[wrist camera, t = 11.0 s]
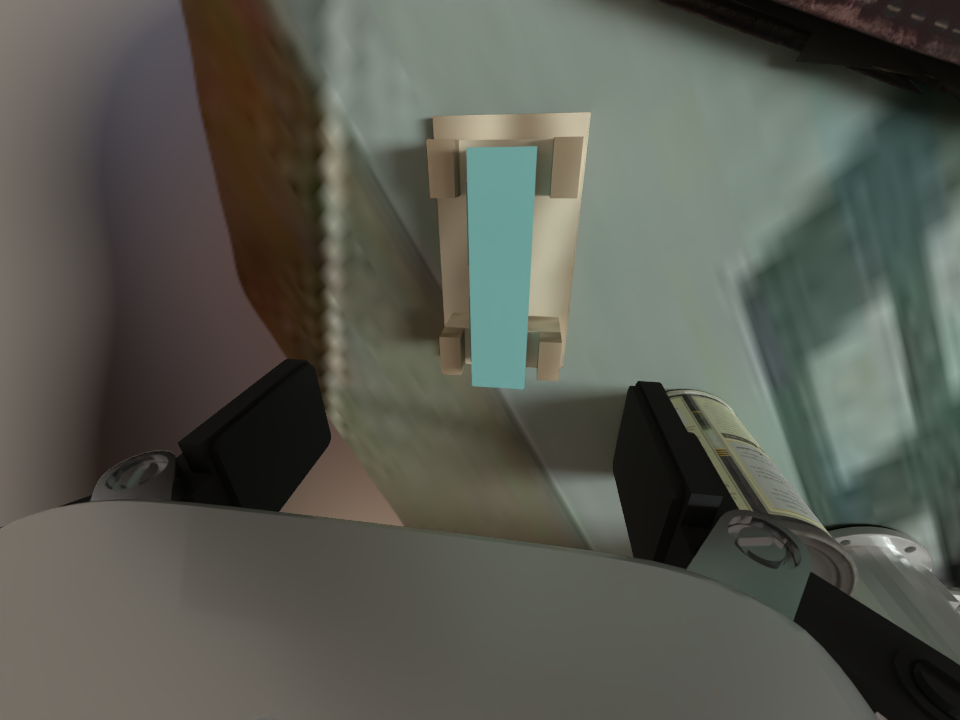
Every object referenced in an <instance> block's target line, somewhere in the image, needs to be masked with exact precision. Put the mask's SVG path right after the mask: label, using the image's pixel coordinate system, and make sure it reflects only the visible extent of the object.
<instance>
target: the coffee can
mask: <svg viewBox="0 0 960 720" xmlns="http://www.w3.org/2000/svg"><path fill="white" fill-rule="evenodd" d="M666 393H667V395H668V397H669V398H670V400H671V402H672V404H673V406H674V407H675V409H676V411H677V413H678V415H679V417H680V418H681V420H682V422H683V424H684V426H685V428H686V429H687V431H688V432H692V433H694V434H695V435H696V436H697V437H698V439H699V441H700V442H701V444H702V446H703V448H704V449H705V451H706V453H707V454H708V456H709V458H710V460H711V461H712V463H713V465H714V467H715V468H716V470H717V472H718V474H719V475H720V477H721V479H722V481H723V482H724V484H725V486H726V488H727V489H728V491H729V493H730V495H731V496H732V498H733V500H734V501H735V503H736V505H737V507H738V508H739V510H750V511H754V512H758V513H761V514H763V515H766V516H768V517H770V518H773V519H775V520H776V521H778V522H779V523H781V524H783V525H784V526H786V527H787V528H788V529H790V530H791V531H792V532H793V533H794V534H795V535H797V536H798V537H799V538H800V540H801V541H802V542H803V543H804V545H805V546H806V547H807V549H808V551H809V553H810V556H811V558H812V569H811V572H813V573H814V574H816V575H817V576H819V577H821V578H822V579H824V580H825V581H827V582H829V583H830V584H832V585H833V586H835V587H837V588H838V589H840V590H841V591H843V592H845V593H846V594H848V595H849V596H851V597H852V595H853V594H854V591H855V590H856V587H857V583H858V571H857V567H856V565H855V563H854V561H853V559H852V558H851V556H850V555H849V554H848V552H847V551H846V550H845V549H844V548H843V547H842V546H841V545H840V544H839V543H838V542H837V541H836V540H835V539H834V538H832V537H831V535H830V534H829V533H828V532H827V530H826V529H825V528H824V527H823V525H822V524H821V523H820V521H819V520H818V519H817V518H816V516H815V515H814V514H813V513H812V511H811V510H810V509H809V508H808V506H807V505H806V504H805V503H804V501H803V500H802V499H801V498H800V496H799V495H798V494H797V493H796V491H795V490H794V489H793V488H792V486H791V485H790V484H789V482H788V481H787V480H786V479H785V477H784V476H783V475H782V474H781V472H780V471H779V470H778V469H777V467H776V466H775V465H774V463H773V462H772V461H771V460H770V458H769V457H768V456H767V455H766V453H765V452H764V451H763V450H762V448H761V447H760V446H759V445H758V443H757V442H756V441H755V439H754V438H753V437H752V436H751V434H750V433H749V432H748V431H747V429H746V428H745V427H744V425H743V424H742V423H741V422H740V420H739V419H738V418H737V416H736V415H735V413H734V411H733V410H732V409H731V407H730V406H729V405H728V404H727V403H725V402H724V401H723V400H721V399H720V398H718V397H716V396H714V395H712V394H709V393H705V392H702V391H696V390H674V391H668V392H666Z"/></svg>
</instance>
